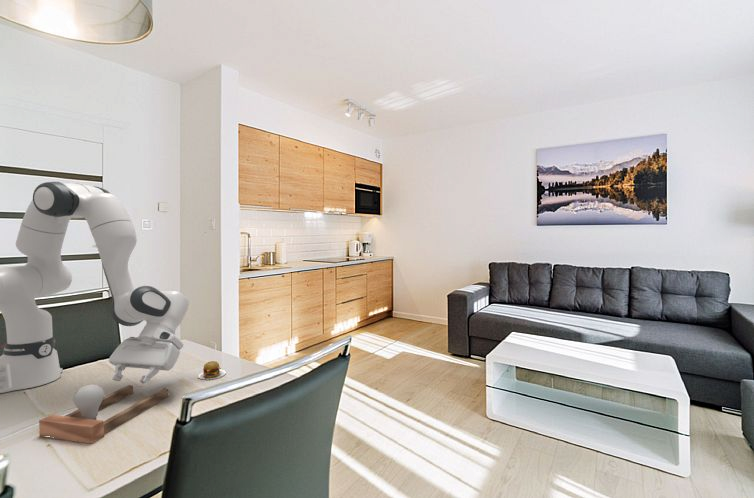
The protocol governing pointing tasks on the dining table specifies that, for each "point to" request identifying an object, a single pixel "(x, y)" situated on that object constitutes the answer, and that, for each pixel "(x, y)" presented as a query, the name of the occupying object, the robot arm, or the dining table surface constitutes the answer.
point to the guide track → (92, 429)
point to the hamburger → (211, 370)
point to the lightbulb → (89, 401)
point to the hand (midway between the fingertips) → (129, 381)
